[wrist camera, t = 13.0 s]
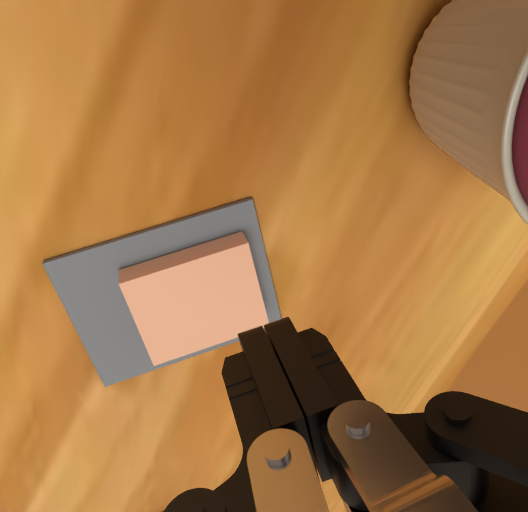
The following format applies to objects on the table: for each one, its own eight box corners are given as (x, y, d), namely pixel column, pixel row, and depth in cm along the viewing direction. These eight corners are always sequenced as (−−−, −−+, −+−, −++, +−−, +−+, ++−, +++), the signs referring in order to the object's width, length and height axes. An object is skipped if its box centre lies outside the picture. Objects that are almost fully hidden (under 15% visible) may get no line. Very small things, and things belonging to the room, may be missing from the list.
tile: (153, 366, 45) (269, 326, 46) (118, 284, 40) (248, 242, 42) (151, 348, 47) (262, 310, 49) (118, 268, 43) (241, 230, 44)
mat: (105, 382, 48) (104, 386, 48) (43, 260, 41) (42, 263, 41) (281, 322, 51) (282, 325, 50) (250, 196, 44) (252, 199, 43)
